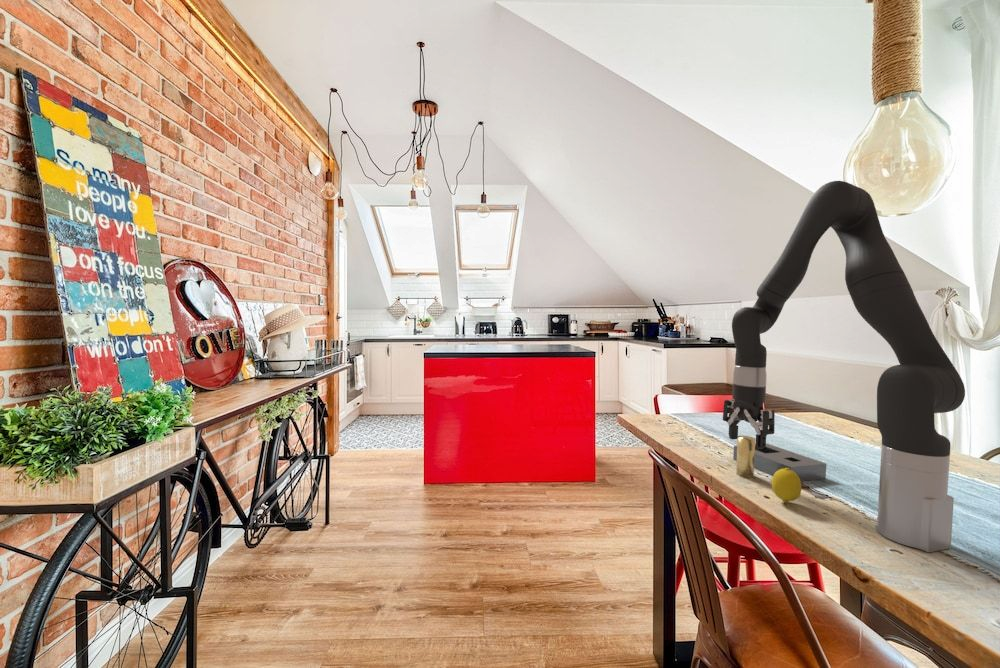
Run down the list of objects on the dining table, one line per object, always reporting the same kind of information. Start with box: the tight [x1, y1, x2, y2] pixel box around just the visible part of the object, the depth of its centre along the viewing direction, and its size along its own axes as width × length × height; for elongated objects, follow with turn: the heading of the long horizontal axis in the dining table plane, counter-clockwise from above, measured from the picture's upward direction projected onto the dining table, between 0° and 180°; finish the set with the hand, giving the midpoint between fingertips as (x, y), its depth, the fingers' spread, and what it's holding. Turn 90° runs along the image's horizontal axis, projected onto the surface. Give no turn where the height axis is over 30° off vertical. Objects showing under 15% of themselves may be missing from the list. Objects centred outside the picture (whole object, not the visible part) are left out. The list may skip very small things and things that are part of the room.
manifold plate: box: [732, 442, 827, 482], centre depth 117 cm, size 18×12×4 cm, turn 16°
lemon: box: [771, 468, 802, 504], centre depth 95 cm, size 6×6×8 cm
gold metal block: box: [735, 435, 756, 479], centre depth 112 cm, size 4×4×10 cm
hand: (746, 443), depth 112 cm, fingers open, 8 cm apart
